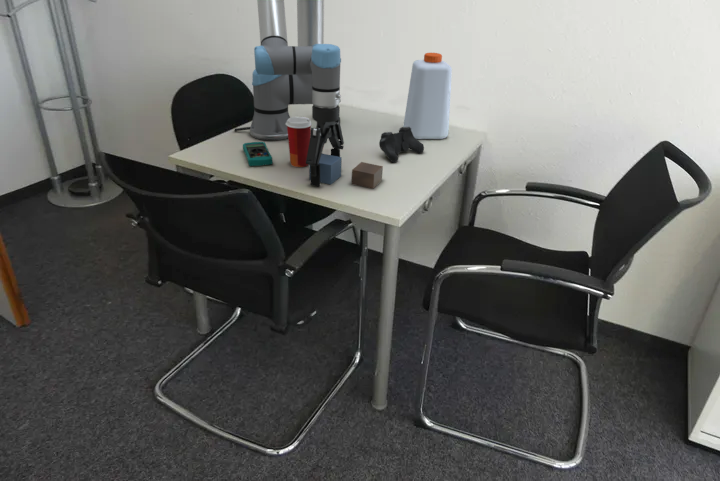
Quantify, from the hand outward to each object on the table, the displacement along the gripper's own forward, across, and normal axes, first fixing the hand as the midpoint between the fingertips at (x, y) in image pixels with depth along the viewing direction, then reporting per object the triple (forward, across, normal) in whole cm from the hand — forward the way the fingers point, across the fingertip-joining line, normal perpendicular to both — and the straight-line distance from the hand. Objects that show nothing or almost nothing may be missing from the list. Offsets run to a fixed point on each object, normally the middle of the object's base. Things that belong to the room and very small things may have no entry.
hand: (325, 177), depth 155 cm
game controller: (0, +29, -13) cm, 32 cm away
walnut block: (0, +3, -12) cm, 12 cm away
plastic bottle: (0, +54, -14) cm, 56 cm away
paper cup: (0, +6, +12) cm, 13 cm away
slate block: (0, 0, 0) cm, 0 cm away
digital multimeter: (0, +4, +26) cm, 26 cm away
